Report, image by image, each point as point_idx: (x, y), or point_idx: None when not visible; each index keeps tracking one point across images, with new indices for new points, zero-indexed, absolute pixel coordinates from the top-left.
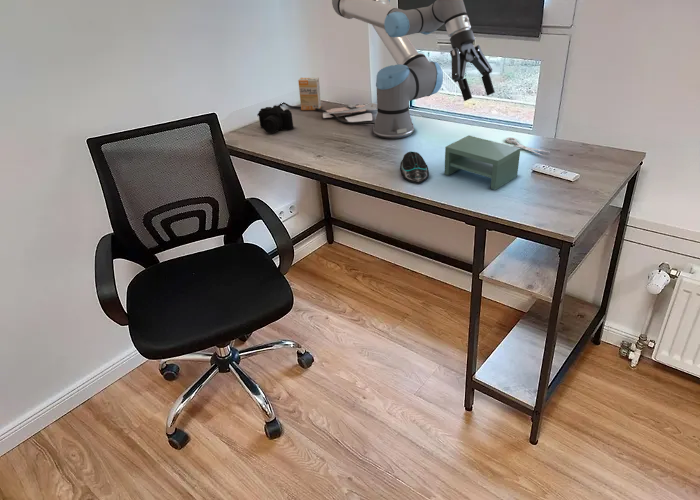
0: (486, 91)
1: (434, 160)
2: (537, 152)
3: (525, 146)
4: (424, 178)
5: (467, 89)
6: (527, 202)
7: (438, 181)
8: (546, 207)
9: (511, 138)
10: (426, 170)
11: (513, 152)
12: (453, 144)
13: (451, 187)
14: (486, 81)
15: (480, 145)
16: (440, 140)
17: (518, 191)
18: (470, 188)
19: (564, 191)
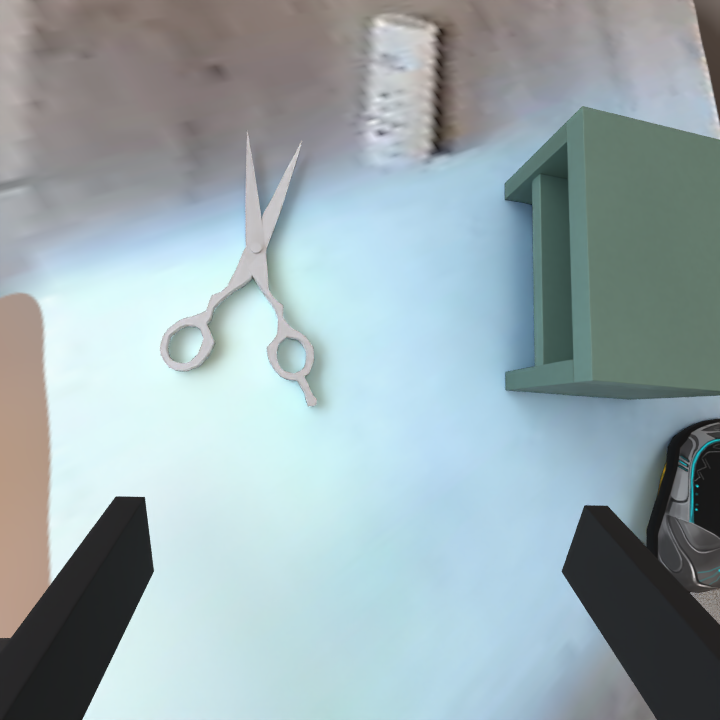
0: (133, 606)
1: (563, 510)
2: (279, 183)
3: (246, 247)
4: (713, 423)
5: (686, 599)
6: (624, 104)
7: None
8: (617, 56)
9: (167, 351)
10: (710, 437)
11: (630, 119)
12: (715, 377)
13: None
14: (50, 717)
15: (657, 265)
16: (364, 655)
17: None
18: None
19: (511, 34)
